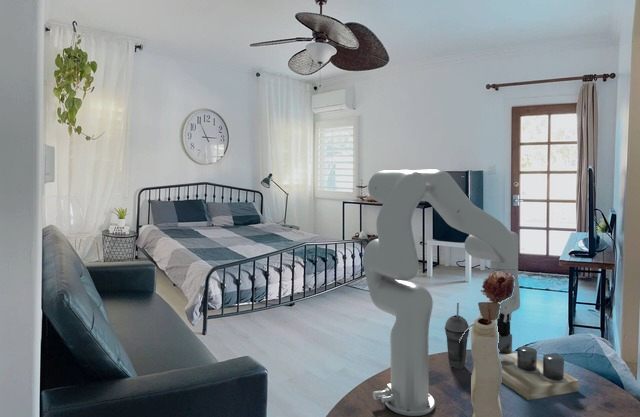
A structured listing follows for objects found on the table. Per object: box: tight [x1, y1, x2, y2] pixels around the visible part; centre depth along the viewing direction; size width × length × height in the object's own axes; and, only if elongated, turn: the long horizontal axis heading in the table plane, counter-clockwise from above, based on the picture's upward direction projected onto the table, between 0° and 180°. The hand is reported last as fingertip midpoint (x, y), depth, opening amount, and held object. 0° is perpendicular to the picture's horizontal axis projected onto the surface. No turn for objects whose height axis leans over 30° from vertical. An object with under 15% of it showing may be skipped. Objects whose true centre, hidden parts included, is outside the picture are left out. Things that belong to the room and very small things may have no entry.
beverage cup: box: [444, 302, 470, 369], centre depth 133 cm, size 7×7×20 cm
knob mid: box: [516, 346, 538, 371], centre depth 124 cm, size 5×5×5 cm
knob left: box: [498, 333, 513, 355], centre depth 129 cm, size 5×5×5 cm
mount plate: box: [500, 352, 579, 401], centre depth 124 cm, size 16×20×3 cm
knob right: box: [542, 353, 565, 380], centre depth 118 cm, size 5×5×5 cm
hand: (503, 333), depth 129 cm, fingers closed
